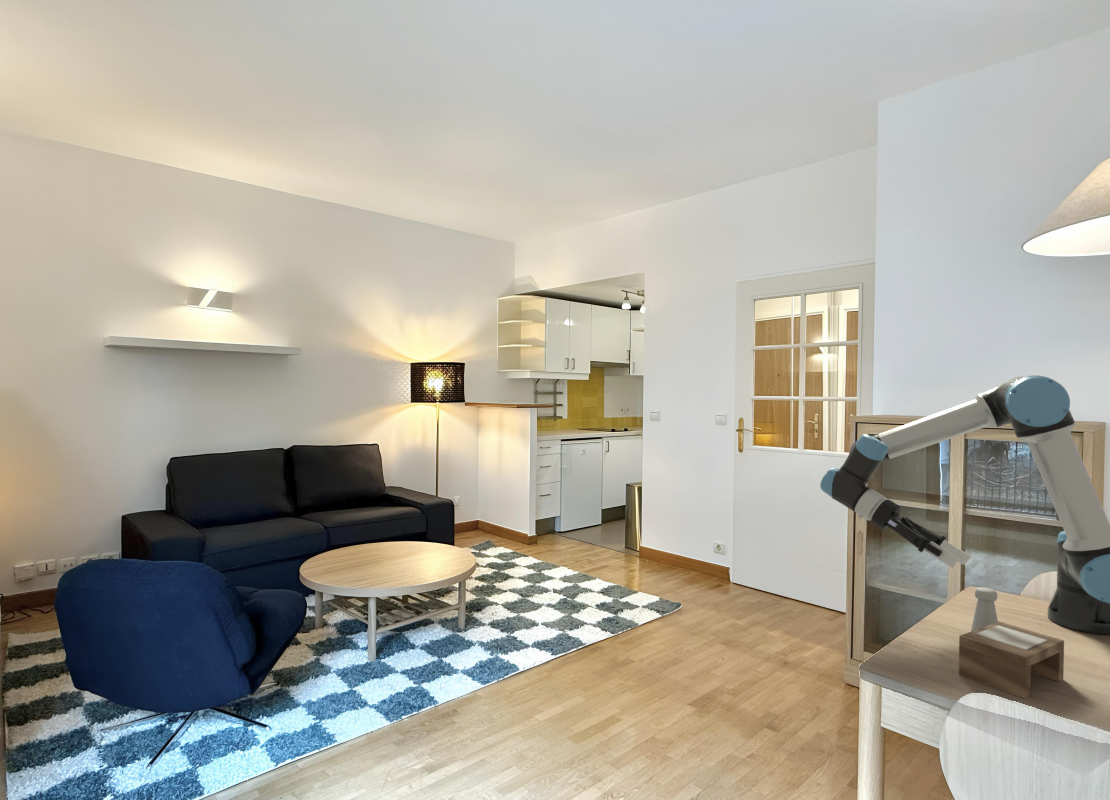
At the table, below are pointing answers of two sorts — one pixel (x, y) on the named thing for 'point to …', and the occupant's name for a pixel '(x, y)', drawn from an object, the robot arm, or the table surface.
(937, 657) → the table surface
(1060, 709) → the table surface
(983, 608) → the salt shaker
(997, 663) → the walnut shelf
